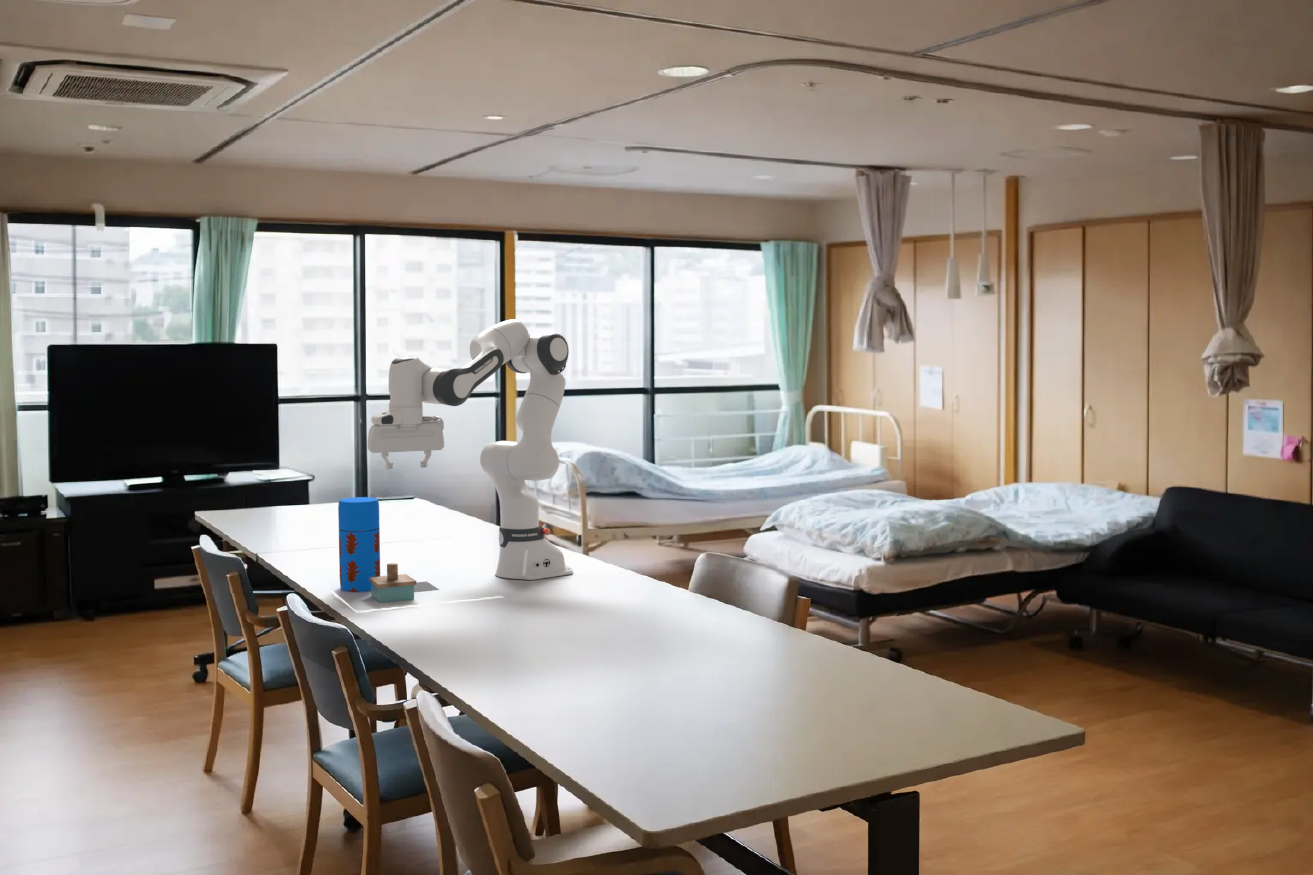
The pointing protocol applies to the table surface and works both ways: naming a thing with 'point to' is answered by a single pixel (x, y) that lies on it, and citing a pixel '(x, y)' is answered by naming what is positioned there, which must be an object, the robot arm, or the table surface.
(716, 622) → the table surface
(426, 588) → the mat
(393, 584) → the lid
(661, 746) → the table surface
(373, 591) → the teal open box
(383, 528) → the table surface
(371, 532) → the thermos
